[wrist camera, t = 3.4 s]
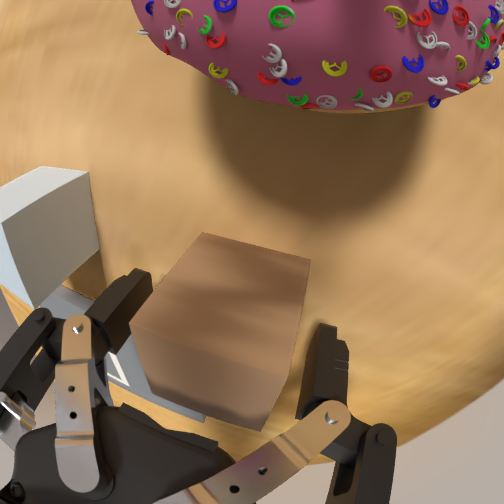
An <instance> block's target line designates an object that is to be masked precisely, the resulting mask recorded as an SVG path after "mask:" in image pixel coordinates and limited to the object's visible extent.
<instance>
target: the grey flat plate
mask: <svg viewBox="0 0 504 504" xmlns="http://www.w3.org/2000/svg"><path fill="white" fill-rule="evenodd" d="M93 303H94V301H92V300H90V299H88V298H86V297H84V296H82V295H80V294H78V293H76V292H74V291H72V290H70V289H68V288H66V287H65V286H63V285H59V286H58V287H57V288H56V289H55V290H54V291H53V292H52V293H51V294H50V295H49V296H48V297H47V298H46V299H45V300H44V301H43V302H42V303H41V304H40V307H41V308H42V307H44V308H48V309H49V310H50V311H51V313H52V315H53V317H56V318H62V319H68V318H69V317H71V316H73V315H76V314H84V313H85V312H86V311H87V310H88V309H89V308H90V306H91V305H92V304H93ZM105 357H106V365H107V375H108V380H109V381H110V382H112V383H114V384H116V385H118V386H120V387H122V388H124V389H126V390H128V391H130V392H132V393H134V394H136V395H138V396H140V397H142V398H144V399H146V400H148V401H150V402H153V403H155V404H157V405H159V406H162V407H164V408H166V409H169V410H171V411H173V412H176V413H178V414H181V415H183V416H186V417H189V418H191V419H194V420H197V421H200V422H202V423H204V421H205V418H206V416H207V415H204V414H201V413H199V412H196V411H193V410H190V409H188V408H185V407H183V406H180V405H178V404H175V403H173V402H170V401H168V400H165V399H163V398H161V397H159V396H156V395H154V394H152V392H151V390H150V387H149V384H148V382H147V379H146V376H145V373H144V370H143V368H142V365H141V362H140V359H139V356H138V352H137V349H136V346H135V343H134V340H133V336H132V334H131V335H130V336H129V338H128V339H127V340H126V342H125V343H124V345H123V346H122V348H121V349H120V350H119V352H118V353H117V355H114V354H112V353H110V352H108V353H107V354H106V356H105Z"/></svg>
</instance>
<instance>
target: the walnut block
mask: <svg viewBox="0 0 504 504" xmlns="http://www.w3.org/2000/svg"><path fill="white" fill-rule="evenodd" d="M309 266H310V259H306V258H302V257H298V256H294V255H290V254H286V253H282V252H279V251H275V250H271V249H267V248H263V247H259V246H255V245H251V244H247V243H243V242H239V241H235V240H231V239H228V238H224V237H220V236H216V235H212V234H208V233H204V232H202V233H201V234H200V235H199V237H198V238H197V239H196V240H195V241H194V243H193V244H192V245H191V246H190V247H189V248H188V250H187V251H186V252H185V253H184V254H183V256H182V257H181V258H180V259H179V260H178V262H177V263H176V264H175V265H174V267H173V268H172V269H171V270H170V271H169V273H168V274H167V275H166V276H165V278H164V279H163V280H162V281H161V282H160V284H159V285H158V286H157V287H156V289H155V290H154V291H153V292H152V294H151V295H150V296H149V298H148V299H147V300H146V301H145V303H144V304H143V305H142V306H141V308H140V309H139V310H138V312H137V313H136V314H135V316H134V317H133V318H132V319H131V321H130V322H129V326H130V329H131V333H132V336H133V340H134V343H135V346H136V349H137V352H138V356H139V359H140V362H141V365H142V368H143V370H144V373H145V376H146V379H147V382H148V384H149V387H150V390H151V392H152V394H154V395H156V396H159V397H161V398H163V399H165V400H168V401H170V402H173V403H175V404H178V405H180V406H183V407H185V408H188V409H190V410H193V411H196V412H199V413H201V414H204V415H207V416H210V417H213V418H216V419H219V420H222V421H225V422H228V423H232V424H235V425H238V426H242V427H245V428H249V429H253V430H257V431H260V432H261V430H262V428H263V426H264V424H265V422H266V420H267V418H268V416H269V415H270V413H271V411H272V409H273V407H274V405H275V403H276V401H277V399H278V397H279V395H280V393H281V391H282V389H283V387H284V385H285V382H286V380H287V378H288V375H289V371H290V366H291V362H292V357H293V352H294V348H295V343H296V338H297V333H298V328H299V323H300V318H301V312H302V307H303V302H304V296H305V290H306V284H307V279H308V272H309Z"/></svg>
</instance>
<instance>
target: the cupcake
mask: <svg viewBox="0 0 504 504" xmlns="http://www.w3.org/2000/svg"><path fill="white" fill-rule="evenodd" d="M131 2H132V5H133V7H134V10H135V12H136V15H137V17H138V19H139V21H140V23H141V25H142V27H143V28H144V30H139V31H138V34H143V35H148V36H149V38H150V39H151V41H152V42H153V43H154V44H155V45H156V46H157V47H158V48H159V49H160V50H161V51H163V52H164V53H166V54H167V55H170V56H172V57H175V58H177V59H179V60H182V61H184V62H186V63H187V64H189V65H191V66H193V67H194V68H196V69H198V70H199V71H201V72H202V73H204V74H205V75H207V76H209V77H210V78H212V79H213V80H215V81H216V82H218V83H220V84H221V85H223V86H225V87H227V88H228V89H229V90H230V92H231V93H233V94H234V95H237V94H241V95H243V96H246V97H248V98H251V99H255V100H259V101H263V102H269V103H274V104H280V105H287V106H293V107H297V108H301V109H305V110H311V111H318V112H327V113H344V114H356V113H375V112H385V111H392V110H399V109H405V108H411V107H416V106H421V105H427V104H429V106H430V107H431V108H435V107H437V106H438V105H439V103H440V101H441V100H443V99H446V98H448V97H452V96H455V95H459V94H460V93H463V92H465V91H467V90H469V89H471V88H473V87H474V86H476V85H477V84H478V83H479V82H480V83H481V84H489V83H491V82H492V80H493V77H492V75H491V74H489V73H487V72H488V71H489V70H491V69H496V68H498V67H499V64H500V62H499V59H498V55H499V53H500V51H501V50H503V49H504V45H503V42H504V0H131ZM502 45H503V46H502ZM494 63H495V65H494V66H493V64H494ZM485 76H487V77H486V78H485ZM488 78H489V80H486V79H488ZM482 79H484V81H483V80H482ZM485 80H486V81H485ZM435 102H436V103H435ZM433 103H435V104H433Z"/></svg>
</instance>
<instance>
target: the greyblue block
mask: <svg viewBox="0 0 504 504" xmlns="http://www.w3.org/2000/svg"><path fill="white" fill-rule="evenodd" d="M99 249H100V246H99V241H98V236H97V230H96V225H95V219H94V212H93V205H92V198H91V190H90V181H89V172H87V171H79V170H72V169H64V168H55V167H47V166H40V167H38V168H36V169H34V170H32V171H30V172H28V173H26V174H24V175H22V176H20V177H18V178H16V179H14V180H12V181H11V182H9V183H7V184H5V185H3V186H2V187H0V283H1V284H2V285H3V286H4V287H6V288H7V289H8V290H9V291H11V292H12V293H13V294H14V295H16V296H17V297H18V298H20V299H21V300H22V301H24V302H25V303H26V304H28V305H29V306H30V307H32V308H33V309H36V308H37V307H38V306H39V305H40V304H41V303H42V302H43V301H44V300H45V299H46V298H47V297H48V296H49V295H50V294H51V293H52V292H53V291H54V290H55V289H56V288H57V287H58V286H59V285H61V284H62V283H63V282H64V281H65V280H66V279H67V278H68V277H69V276H70V275H71V274H72V273H73V272H74V271H76V270H77V269H78V268H79V267H80V266H81V265H82V264H83V263H84V262H86V261H87V260H88V259H89V258H90V257H91V256H92V255H93V254H95V253H96V252H97V251H98V250H99Z"/></svg>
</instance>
